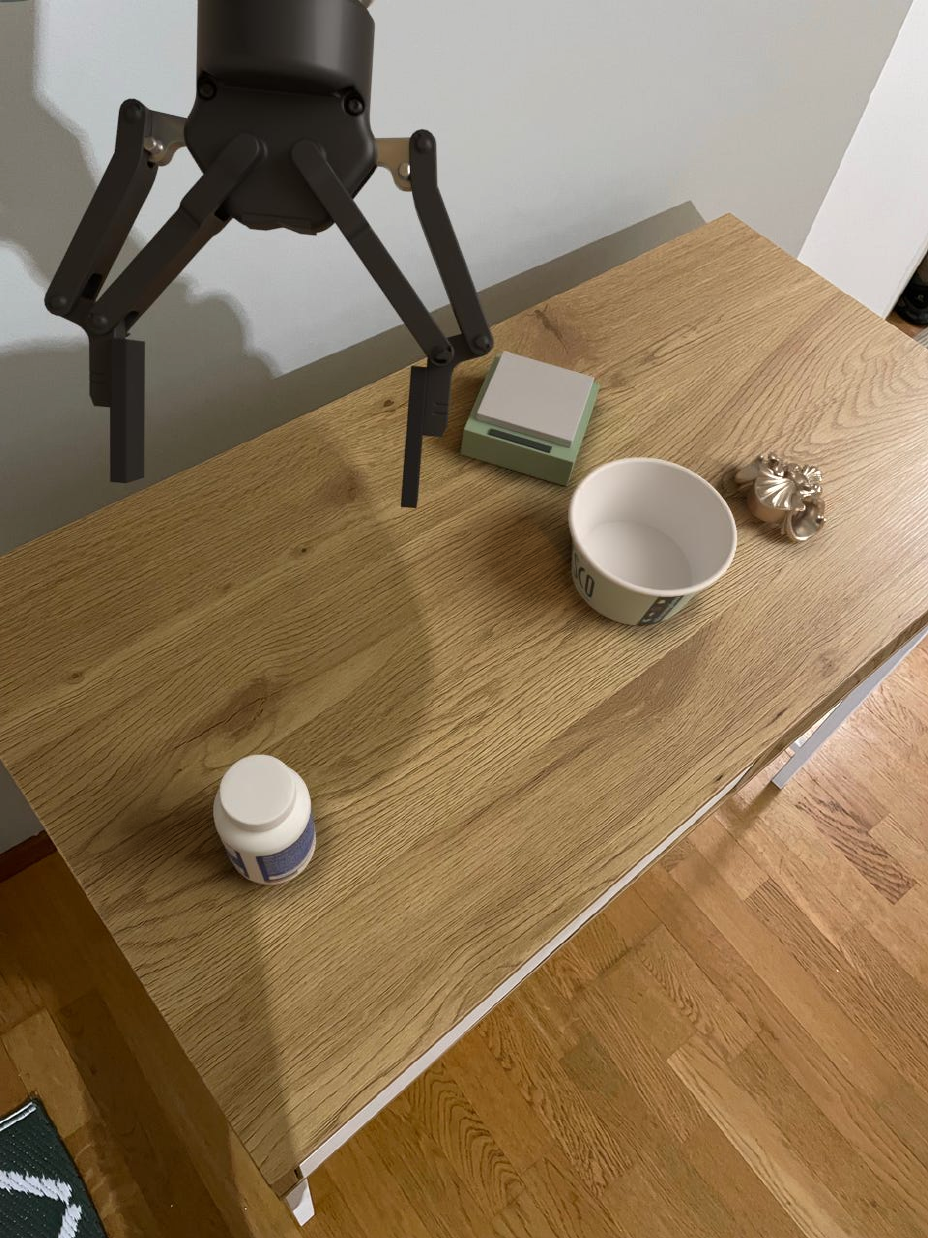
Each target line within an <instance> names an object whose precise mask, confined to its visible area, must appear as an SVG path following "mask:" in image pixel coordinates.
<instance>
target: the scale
mask: <svg viewBox="0 0 928 1238" xmlns="http://www.w3.org/2000/svg"><path fill="white" fill-rule="evenodd" d="M594 380H595V376H591V375H588V374H585V373H581V372H579V371H575V370H571V369H568V368H564V367H560V366H557V365H554V364H551V363H548V362H545V361H541V360H538V359H537V360H536V359H533V358H530V357H527V356H524V355H520V354H517V353H513V352H509V351H506V350H502V353H501V354H500V353H495V355H494V357H493V359H492V362H491V364H490V366H489V369H488V371H487V374H486V376H485V378H484V381H483V382H482V385H481V387H480V390H479V393H478V394H477V397H476V399H475V402H474V404H473V406H472V409H471V411H470V413H469V416H468V418H467V420H466V422H465V425H464V427H463V431H462V438H461V446H460V455H462V456H465V457H467V458H468V457H469V458H471V459H474V460H478V461H482V462H485V463H488V464H491V465H495V466H497V467H498V466H499V467H500V468H504V469H508V470H511V471H514V472H517V473H521V474H524V475H528V476H531V477H534V478H537V479H540V480H544V481H547V482H551V483H553V484H557V485H559V486H565V487H568V485H569V482H570V479H571V476H572V473H573V471H574V467H575V464H576V462H577V459H578V455H579V452H580V449H581V446H582V443H583V441H584V438H585V434H586V431H587V429H588V425H589V423H590V419H591V416H592V413H593V410H594V407H595V404H596V400H597V397H598V394H599V390H600V387H601V383H599V382H595V381H594Z"/></svg>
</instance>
